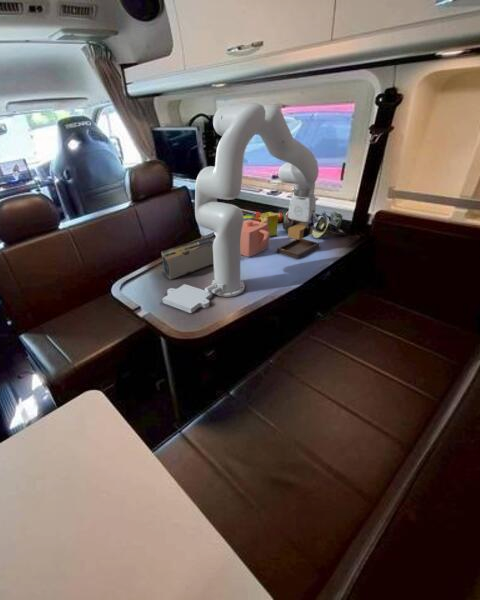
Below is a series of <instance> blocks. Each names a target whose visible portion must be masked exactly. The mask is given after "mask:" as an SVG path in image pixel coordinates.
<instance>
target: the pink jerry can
mask: <svg viewBox="0 0 480 600" xmlns="http://www.w3.org/2000/svg"><path fill="white" fill-rule="evenodd" d="M266 222H267V221H262V222H259V221H254V220H246V221H243V226H242V230H241V239H240V256H243V257H247V258H250V257H253V256H255V255H257V254H259V253H261V252H263V251H265V250H266V249H267V248H269V244H270V238H271V237H270V233H269V227H268V223H266Z"/></svg>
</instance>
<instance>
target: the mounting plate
mask: <svg viewBox="0 0 480 600" xmlns="http://www.w3.org/2000/svg"><path fill="white" fill-rule="evenodd" d="M166 292H167V293H166V294H167V295H165V296H164V297H162V299H161V300H162V304H165V305H168V306H169V307H173V308H176V309H178V310H181V311H184V312H186V313H189V314H193V313H194V312H196V311H197V310H198V309H200V308H203V309H207V308H208V307H210V299H211V298H212V297H213V292H212V291H210V292H206V291H205V289H202V288H198V287H195V286H192V285H189V284H185V283H183V284H182V285H181V286H179V287H178V288H173V287H171V288H168V289H167V290H166Z"/></svg>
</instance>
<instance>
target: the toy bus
mask: <svg viewBox="0 0 480 600" xmlns="http://www.w3.org/2000/svg"><path fill="white" fill-rule="evenodd" d="M213 242H214V240H211V239H208V238H206V237H202V238H198V239H196V240H193V241H190V242H187V243H184V244H180V245H177V246H175V247H172V248H169V249H166V250H162V251H161V253H160V254H161V260H162V266H163V272H164V274H165V276H166V277H167V278H168V279H170V280H174V279H176V278H179V277H182V276H185V275H191V274H192V273H193V272H195V271H197V270H198V271H199V270H200V269H203V268H206V267H208V266H209V267H212V266H213V265H214V262H213Z"/></svg>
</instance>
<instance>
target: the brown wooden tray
mask: <svg viewBox="0 0 480 600" xmlns="http://www.w3.org/2000/svg"><path fill="white" fill-rule="evenodd" d="M319 248H320V242H316V241H314V240H309V239H306V238H302V239H300V240H298V239H293V240H291V241H289V242H287V243H285V244H283V245H281V246H279V247H277V248H276V253H277V254H281V255H284V256H287V257H290V258H294V259H296V260H299V259H300V258H302V257H304V256H306V255H307V254H310V253H311V252H314V251H315V250H317V249H319Z"/></svg>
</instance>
